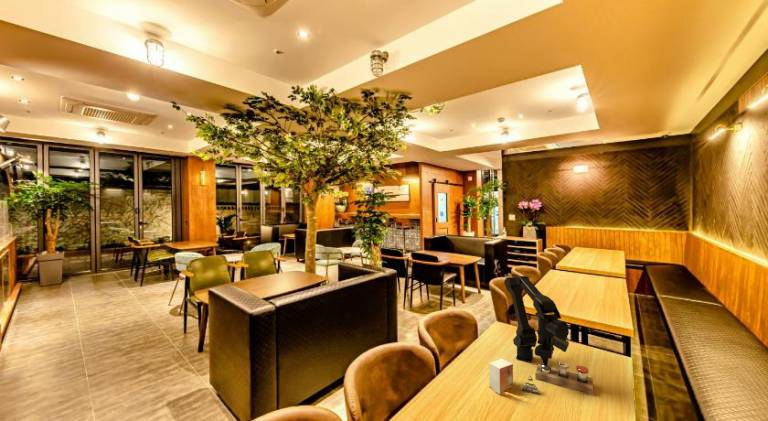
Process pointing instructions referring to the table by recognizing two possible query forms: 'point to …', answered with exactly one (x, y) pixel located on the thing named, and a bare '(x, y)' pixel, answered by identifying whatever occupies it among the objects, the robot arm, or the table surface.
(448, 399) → the table surface
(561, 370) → the cream plug
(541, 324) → the robot arm
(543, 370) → the grey plug
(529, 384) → the house of cards
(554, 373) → the socket board
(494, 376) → the small box
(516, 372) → the table surface
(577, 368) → the red plug
